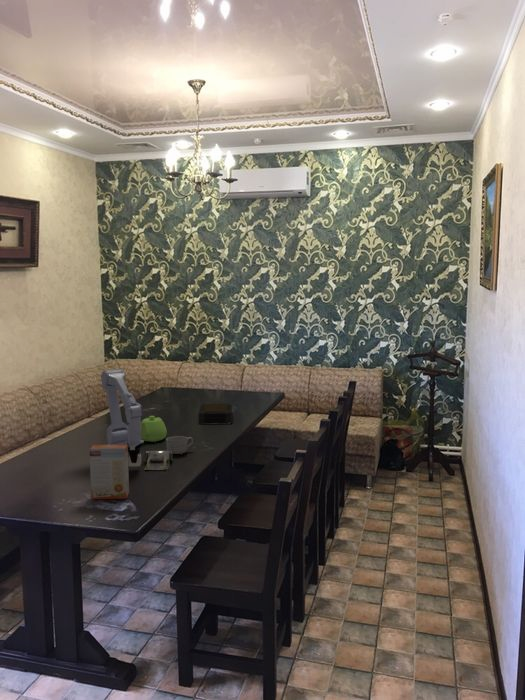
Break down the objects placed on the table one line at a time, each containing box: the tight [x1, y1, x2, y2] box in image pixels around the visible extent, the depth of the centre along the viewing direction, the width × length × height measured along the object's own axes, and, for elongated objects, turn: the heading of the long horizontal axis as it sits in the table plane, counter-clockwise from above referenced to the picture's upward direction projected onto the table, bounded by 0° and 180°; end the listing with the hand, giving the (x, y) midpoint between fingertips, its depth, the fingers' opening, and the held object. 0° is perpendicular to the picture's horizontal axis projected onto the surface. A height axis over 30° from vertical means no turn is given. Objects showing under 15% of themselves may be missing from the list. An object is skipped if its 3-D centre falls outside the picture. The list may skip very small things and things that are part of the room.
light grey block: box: [128, 452, 142, 467], centre depth 264 cm, size 5×5×6 cm
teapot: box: [141, 415, 168, 443], centre depth 313 cm, size 22×15×13 cm
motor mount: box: [144, 450, 174, 470], centre depth 272 cm, size 13×15×6 cm
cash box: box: [198, 403, 234, 424], centre depth 360 cm, size 25×20×8 cm
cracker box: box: [89, 444, 130, 500], centre depth 232 cm, size 14×6×21 cm, turn 92°
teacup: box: [165, 435, 194, 455], centre depth 291 cm, size 14×11×8 cm
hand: (134, 460), depth 264 cm, fingers closed on light grey block, 5 cm apart
